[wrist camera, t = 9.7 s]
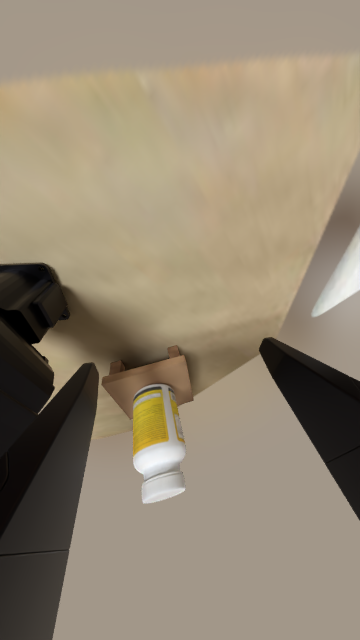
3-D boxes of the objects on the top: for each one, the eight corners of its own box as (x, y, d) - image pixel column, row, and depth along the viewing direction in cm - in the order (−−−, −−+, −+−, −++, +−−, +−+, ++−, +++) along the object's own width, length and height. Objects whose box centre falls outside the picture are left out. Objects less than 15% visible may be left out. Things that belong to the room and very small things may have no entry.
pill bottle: (124, 396, 25) (118, 509, 16) (156, 376, 24) (169, 486, 15) (152, 407, 29) (160, 503, 20) (181, 390, 28) (204, 484, 19)
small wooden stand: (130, 398, 33) (130, 419, 30) (105, 361, 25) (101, 384, 22) (188, 381, 34) (193, 400, 31) (179, 341, 26) (185, 361, 23)
